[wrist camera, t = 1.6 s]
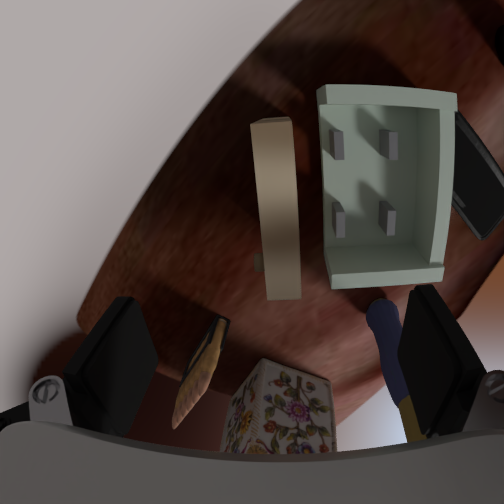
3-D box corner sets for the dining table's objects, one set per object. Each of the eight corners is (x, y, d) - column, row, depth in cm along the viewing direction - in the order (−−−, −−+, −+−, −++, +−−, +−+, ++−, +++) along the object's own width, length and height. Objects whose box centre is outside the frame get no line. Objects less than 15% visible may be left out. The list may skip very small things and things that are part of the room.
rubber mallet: (359, 350, 39) (391, 573, 12) (322, 322, 37) (337, 581, 10) (432, 290, 34) (535, 514, 7) (399, 253, 32) (522, 519, 6)
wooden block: (252, 119, 28) (233, 125, 17) (288, 116, 28) (291, 121, 17) (264, 235, 33) (253, 300, 22) (296, 233, 33) (301, 299, 22)
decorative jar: (333, 380, 42) (343, 491, 26) (293, 418, 47) (289, 515, 31) (259, 353, 41) (244, 474, 25) (227, 397, 46) (206, 498, 30)
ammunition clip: (217, 313, 38) (194, 387, 28) (231, 320, 39) (212, 395, 28) (187, 362, 43) (164, 428, 32) (199, 367, 43) (178, 434, 32)
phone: (451, 102, 24) (518, 198, 27) (446, 102, 25) (513, 196, 28) (408, 155, 27) (481, 244, 30) (404, 153, 28) (477, 240, 31)
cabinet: (316, 90, 26) (325, 84, 20) (422, 94, 25) (456, 93, 18) (323, 254, 33) (331, 289, 27) (417, 249, 32) (441, 281, 26)
